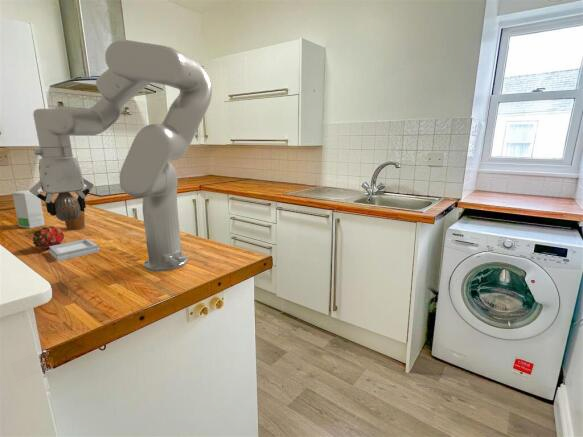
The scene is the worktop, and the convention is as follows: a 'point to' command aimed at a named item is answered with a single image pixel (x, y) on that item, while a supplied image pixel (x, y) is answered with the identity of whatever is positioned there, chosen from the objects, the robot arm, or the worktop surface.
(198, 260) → the worktop surface
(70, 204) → the vase
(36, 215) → the skincare box
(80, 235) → the worktop surface
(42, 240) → the dragon fruit
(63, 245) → the baseplate
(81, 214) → the disposable coffee cup
